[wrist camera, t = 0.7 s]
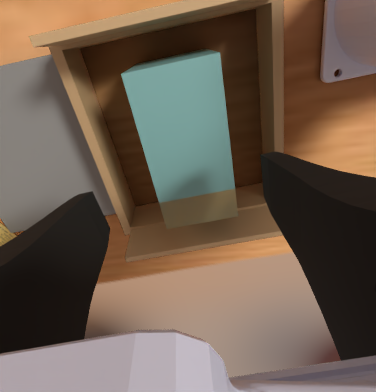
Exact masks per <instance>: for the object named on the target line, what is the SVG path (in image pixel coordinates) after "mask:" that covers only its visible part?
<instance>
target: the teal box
mask: <svg viewBox="0 0 376 392" xmlns="http://www.w3.org/2000/svg"><path fill="white" fill-rule="evenodd" d="M121 76H122V79H123V83H124V86H125V90H126V93H127V96H128V100H129V103H130V106H131V110H132V113H133V117H134V120H135V123H136V127H137V130H138V134H139V137H140V140H141V144H142V147H143V150H144V154H145V157H146V161H147V164H148V167H149V171H150V174H151V178H152V181H153V184H154V188H155V191H156V194H157V198H158V201H159V205H160V208H161V211H162V215H163V218H164V222H165V225H166V228H167V229H171V228H177V227H182V226H188V225H193V224H199V223H204V222H210V221H216V220H221V219H227V218H232V217H238V209H237V200H236V191H235V182H234V173H233V164H232V156H231V147H230V138H229V129H228V120H227V111H226V102H225V93H224V84H223V75H222V66H221V57H220V52H216V51H213V50H209V49H202V50H197V51H193V52H188V53H183V54H179V55H174V56H170V57H165V58H161V59H156V60H152V61H147V62H143V63H138V64H136V65H134V66H133V67H131V68H130V69H128V70H127V71H125V72H123V73H122V74H121Z"/></svg>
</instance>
